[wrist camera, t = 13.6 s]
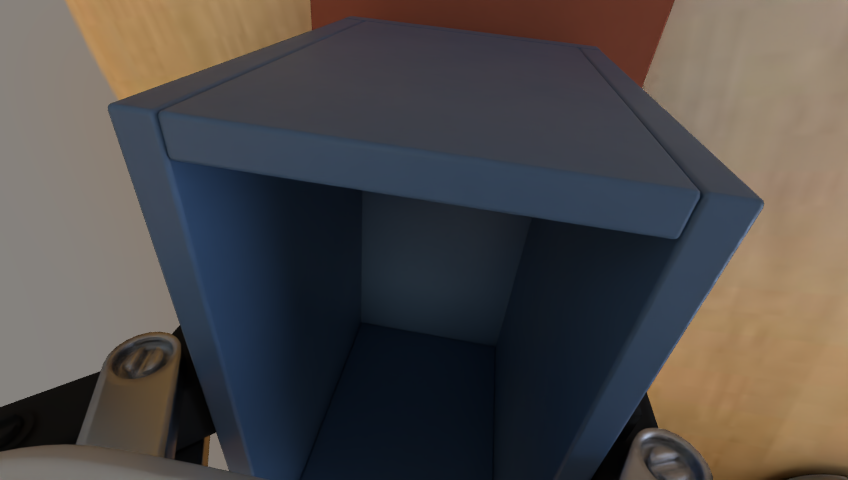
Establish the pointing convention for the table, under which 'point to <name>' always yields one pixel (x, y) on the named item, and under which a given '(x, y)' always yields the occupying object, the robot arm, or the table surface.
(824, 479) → the soda can
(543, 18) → the mat
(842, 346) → the table surface
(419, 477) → the blue bin
